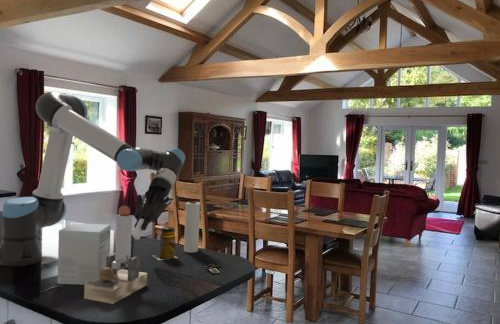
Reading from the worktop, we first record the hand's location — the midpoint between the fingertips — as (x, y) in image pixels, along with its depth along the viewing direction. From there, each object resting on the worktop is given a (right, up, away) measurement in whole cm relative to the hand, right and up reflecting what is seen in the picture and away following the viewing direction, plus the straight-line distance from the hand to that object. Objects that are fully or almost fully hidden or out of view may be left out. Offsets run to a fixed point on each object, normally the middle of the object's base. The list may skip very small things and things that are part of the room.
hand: (135, 237), depth 141 cm
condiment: (+3, -14, +34) cm, 37 cm away
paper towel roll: (+13, -14, +45) cm, 49 cm away
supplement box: (-18, -15, +3) cm, 23 cm away
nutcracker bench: (-4, -16, -8) cm, 18 cm away
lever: (-3, -8, -7) cm, 11 cm away
